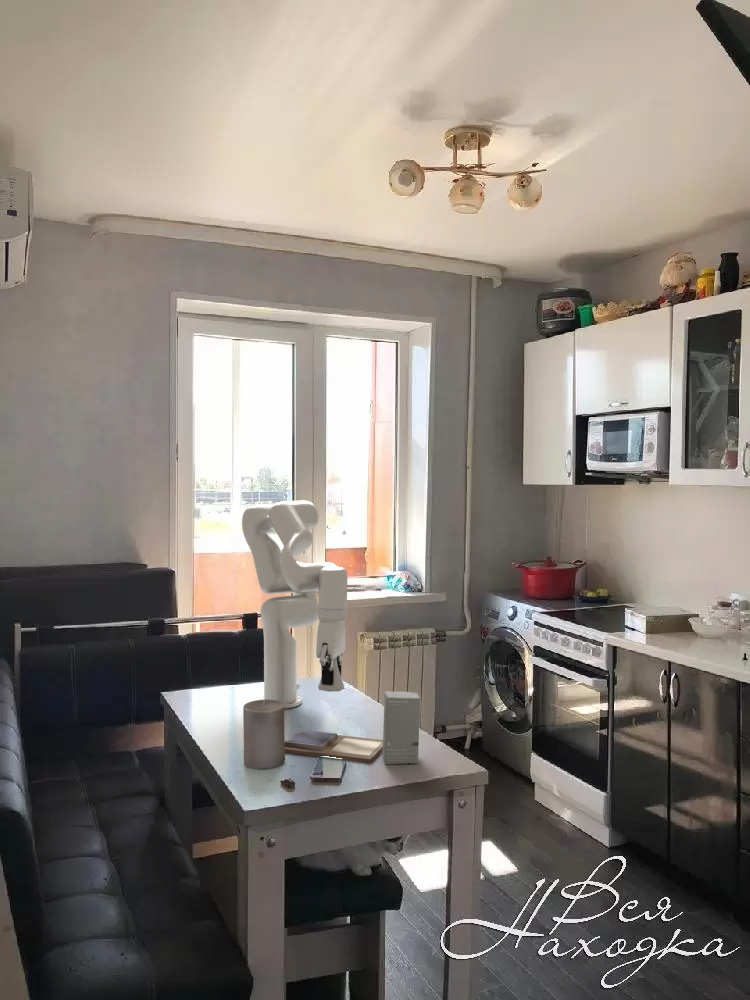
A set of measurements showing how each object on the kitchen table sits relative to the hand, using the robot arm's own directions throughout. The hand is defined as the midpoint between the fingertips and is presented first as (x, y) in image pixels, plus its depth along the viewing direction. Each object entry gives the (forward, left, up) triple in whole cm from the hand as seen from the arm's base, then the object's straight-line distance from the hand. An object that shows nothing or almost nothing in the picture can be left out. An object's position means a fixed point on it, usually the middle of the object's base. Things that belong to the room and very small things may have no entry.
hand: (331, 681), depth 215 cm
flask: (0, 0, -2) cm, 2 cm away
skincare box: (+14, +24, -14) cm, 31 cm away
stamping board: (+12, +6, -13) cm, 19 cm away
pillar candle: (+27, -7, -14) cm, 31 cm away
